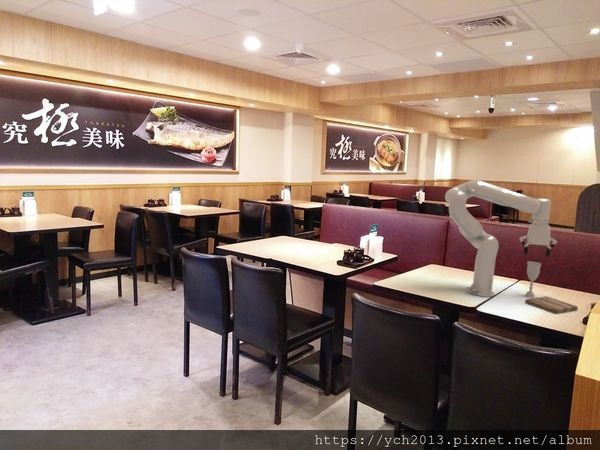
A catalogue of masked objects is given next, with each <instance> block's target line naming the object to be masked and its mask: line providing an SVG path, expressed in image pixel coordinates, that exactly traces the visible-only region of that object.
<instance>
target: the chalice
mask: <svg viewBox="0 0 600 450" xmlns="http://www.w3.org/2000/svg"><path fill="white" fill-rule="evenodd" d="M526 263H527V267H526V274H527V278H528V280H530V283H529V291H527V292H526V293H525V294H524V297H526V298H528V299H531V298H536V296H535V293H534V292H533V291H532V290H533V288H534V287H533V286H534V281H536V279H538V277H539V275H540V273H541V266H542V263H540V262H537V261H527V262H526Z"/></svg>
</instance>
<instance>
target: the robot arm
mask: <svg viewBox="0 0 600 450" xmlns="http://www.w3.org/2000/svg"><path fill="white" fill-rule="evenodd" d="M444 194H445V195H444V199H445V202H446V203H448V204H449V205H448V213H449V216H450V218H451V220H452V221H453V222H454V223H455V224H456V225H457V227H458V231H459V233H460V234H461V235H462V236H463V237H464V238H465V239H466V241H468V242H469V243H470V244H471V245H472V246H473V247H474V248H475V249H477V253H476V257H475V261H474V262H475V263H474V269H473V279H472V284H471V285H470V286H467V287H466V288H465V289H466V291H467V292H469V293H470V294H471V295H475V296H478V297H483V298H485V297H486V298H487V297H488V298H489V297H494V296H495V292H494V291H493V283H494V274H495V267H496V261H497V260H496V259H497V254H498V252H499V240H498V239H497V238H496V237H495V236H493V235H492V234H490V233H487V232H486V231H485V230H484V228H483V226H482V224H481V223H480V222H479V221H478V220H477V219H476V218H475V217H474V216H473V215H472V214H471V213H470V212H469V211H468V209H467V207H466V206H467V205H466V204H467V200H468V199H470V198H472V197H475V198H479V199H482V200H484V201H486V202H490V203H494V204H497V205H499V206H503V207H507V208H508V207H509V208H513V209H516V210H518V211H520V212H522V213H528V214H531V215H532V216H531V217H532V218H531V219H528V223H531V224H529V226H528V230H527V234H526V235H523V236H520V237H519V242H520V243H521V244H522V245H523V253H524V254H525V255H526V256H527V255H528V253H529V252H528V251H529V246H530V245H535V246H536V245H537V246H546V249H545V250H546V251H545V256H546V257H549V256H550V254H551V249H552V248H554V247H556V244H557V243H558V240H557V239H555V238H553V237H551V226H550V225H549V223H550V213H551V206H552V205H551V204H552V201H551V200H550V199H549V198H539V197H538V198H534V197H531V196H528V195H525V194H522V193H518V192H515V191H512V190H510V189H507V188H504V187H501V186H499V185H495V184H492V183H488V182H486V181H484V180H480V179H478V180H477V179H472V180H468V181H466V182H464V183H461V184H459V185H457V186H454V187H452V188H450V189H448V190H447V191H446V192H445V193H444ZM525 239H526V242H524V240H525ZM551 242H552V243H551Z"/></svg>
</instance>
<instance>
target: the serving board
mask: <svg viewBox="0 0 600 450" xmlns="http://www.w3.org/2000/svg"><path fill="white" fill-rule="evenodd" d="M524 304H526V305H529V306H532V307H533V308H538V309H540V310H542V311H543V310H544V311H546V312H549V313H551V314H555V315H558V314H563V313H571V312H574V311H575V312H576V311H578V307H579V306H577V305H574V304H571V303H567V302H566V301H561V300H559V299H557V298H556V299H555V298H554V297H549V296H547V295H546V296H540V297H535V298H526V299H525V302H524Z"/></svg>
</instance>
